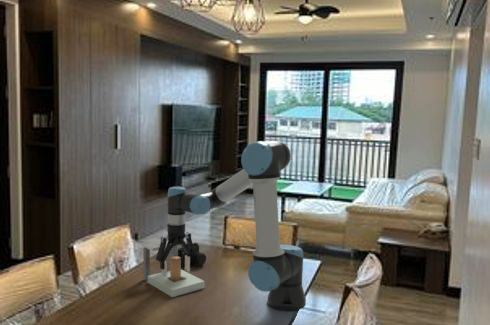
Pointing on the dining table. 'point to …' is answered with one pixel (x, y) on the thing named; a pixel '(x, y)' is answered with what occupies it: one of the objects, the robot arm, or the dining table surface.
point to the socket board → (176, 283)
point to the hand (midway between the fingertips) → (175, 273)
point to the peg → (175, 269)
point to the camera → (195, 259)
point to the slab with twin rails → (146, 256)
